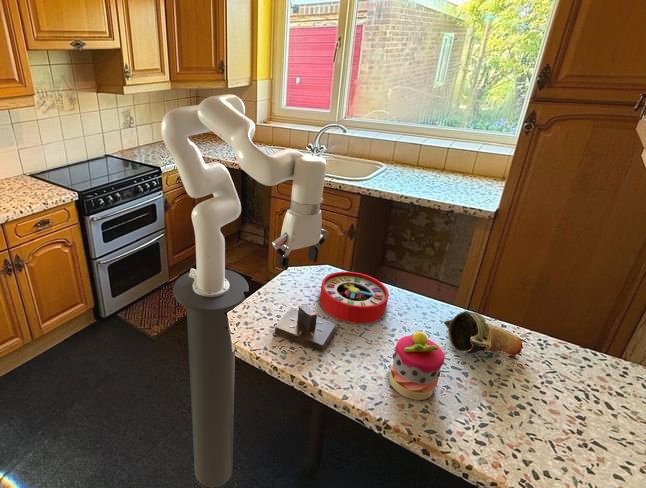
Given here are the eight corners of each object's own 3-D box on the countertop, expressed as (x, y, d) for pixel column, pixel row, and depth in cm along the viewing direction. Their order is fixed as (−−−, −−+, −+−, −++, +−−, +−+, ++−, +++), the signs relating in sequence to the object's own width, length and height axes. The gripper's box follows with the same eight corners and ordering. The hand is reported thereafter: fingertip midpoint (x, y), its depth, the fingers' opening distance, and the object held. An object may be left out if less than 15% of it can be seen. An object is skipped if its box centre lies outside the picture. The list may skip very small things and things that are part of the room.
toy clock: (328, 266, 135) (391, 279, 128) (326, 281, 138) (387, 294, 131) (315, 297, 119) (385, 314, 112) (313, 313, 122) (382, 330, 114)
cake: (379, 369, 101) (391, 322, 94) (418, 365, 102) (432, 318, 95) (401, 403, 91) (415, 353, 85) (444, 398, 93) (461, 349, 86)
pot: (551, 341, 97) (485, 319, 96) (531, 383, 98) (466, 362, 97) (499, 318, 114) (443, 299, 113) (484, 353, 116) (428, 335, 114)
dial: (297, 320, 114) (298, 305, 112) (303, 318, 115) (305, 303, 113) (309, 331, 110) (310, 316, 108) (315, 329, 111) (317, 314, 109)
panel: (274, 333, 113) (275, 326, 112) (290, 313, 121) (291, 306, 120) (321, 352, 106) (322, 344, 105) (335, 330, 115) (336, 322, 113)
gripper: (322, 196, 107) (314, 251, 115) (268, 205, 100) (263, 264, 108) (341, 205, 101) (331, 263, 109) (285, 217, 94) (279, 278, 102)
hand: (297, 263), depth 108 cm, fingers open, 9 cm apart
